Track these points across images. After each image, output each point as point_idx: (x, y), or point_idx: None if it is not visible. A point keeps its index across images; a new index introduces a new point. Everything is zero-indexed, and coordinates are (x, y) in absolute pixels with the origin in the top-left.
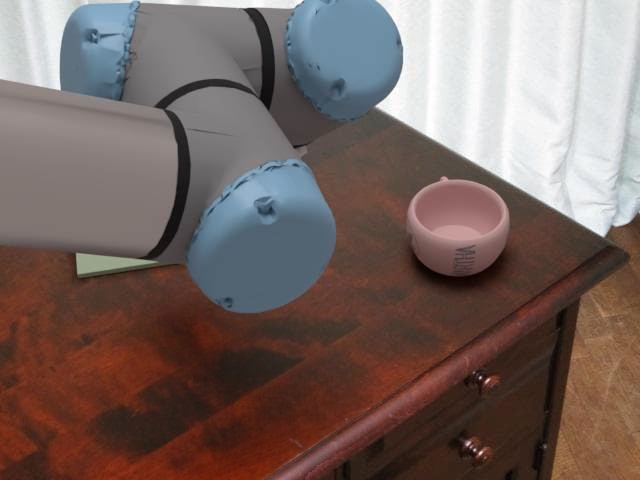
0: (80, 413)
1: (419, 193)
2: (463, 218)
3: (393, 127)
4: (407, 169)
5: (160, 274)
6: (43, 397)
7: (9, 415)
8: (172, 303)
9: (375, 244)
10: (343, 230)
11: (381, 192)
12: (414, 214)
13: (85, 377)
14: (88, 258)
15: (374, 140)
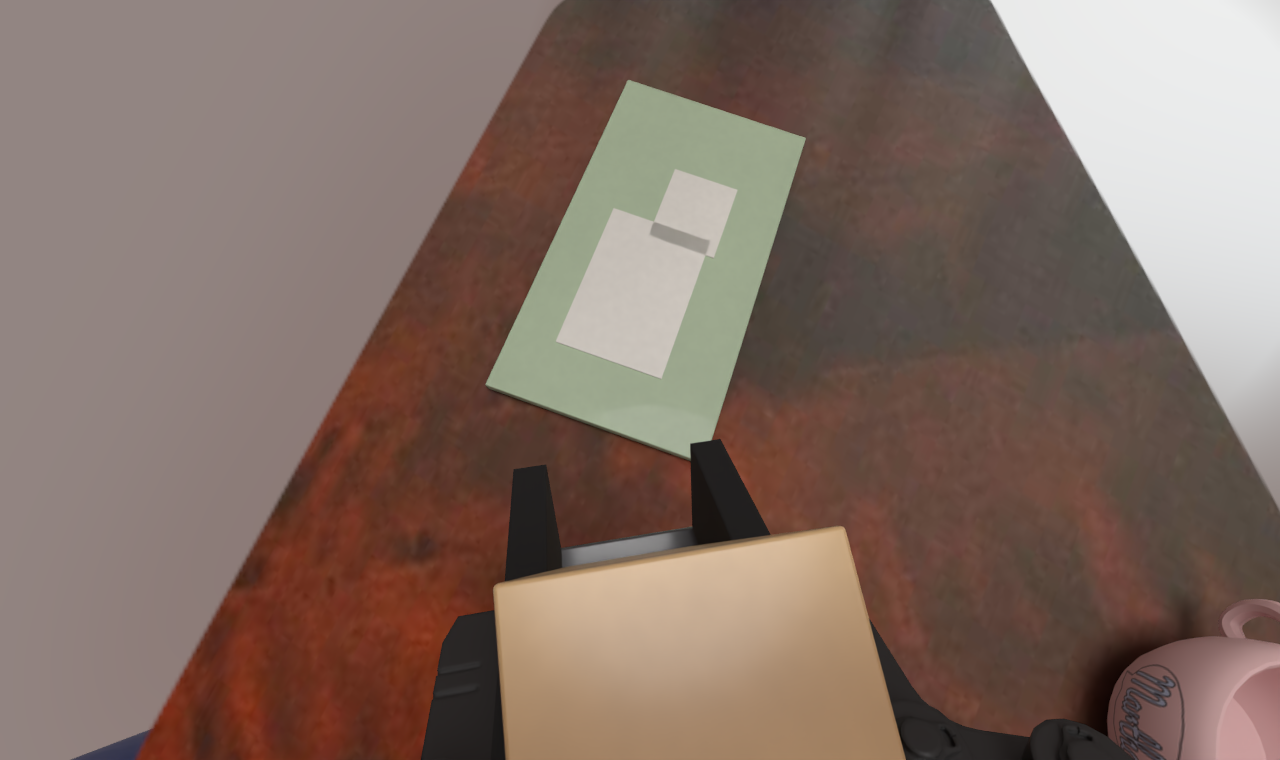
0: (309, 739)
1: (1251, 675)
2: (1250, 692)
3: (1169, 335)
4: (1159, 453)
5: (622, 459)
6: (275, 651)
7: (196, 661)
8: None
9: (1029, 616)
10: (984, 542)
11: (1090, 484)
12: (1219, 745)
13: (369, 645)
14: (522, 357)
15: (1124, 347)
